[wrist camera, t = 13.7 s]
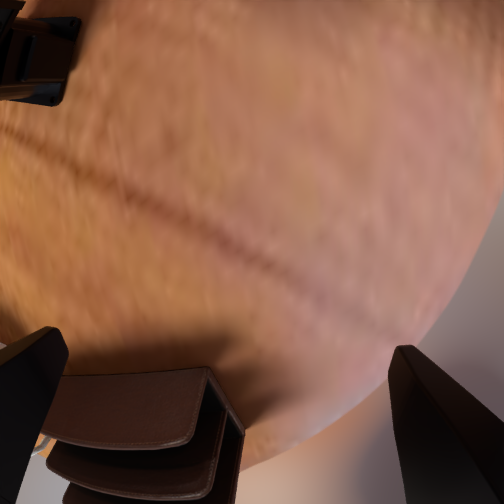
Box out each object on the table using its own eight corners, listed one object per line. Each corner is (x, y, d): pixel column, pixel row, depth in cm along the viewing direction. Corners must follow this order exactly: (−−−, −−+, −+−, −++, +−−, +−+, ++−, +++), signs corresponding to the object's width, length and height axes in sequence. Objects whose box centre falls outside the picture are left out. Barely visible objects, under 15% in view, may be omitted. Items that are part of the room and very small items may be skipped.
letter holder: (247, 428, 29) (229, 554, 16) (101, 428, 33) (62, 514, 21) (210, 363, 25) (167, 520, 13) (55, 373, 30) (-3, 464, 17)
